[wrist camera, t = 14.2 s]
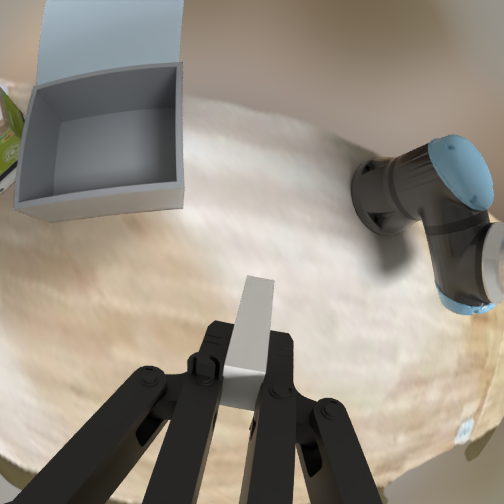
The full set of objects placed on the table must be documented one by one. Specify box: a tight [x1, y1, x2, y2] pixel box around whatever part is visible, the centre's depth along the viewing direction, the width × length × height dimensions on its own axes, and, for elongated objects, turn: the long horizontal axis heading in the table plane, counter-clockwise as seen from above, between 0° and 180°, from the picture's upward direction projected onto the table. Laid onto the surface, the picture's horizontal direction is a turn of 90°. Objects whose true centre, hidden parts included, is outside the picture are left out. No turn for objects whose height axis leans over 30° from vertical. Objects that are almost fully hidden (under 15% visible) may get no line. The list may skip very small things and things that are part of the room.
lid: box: [37, 0, 184, 85], centre depth 23 cm, size 21×18×1 cm
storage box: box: [13, 62, 184, 223], centre depth 33 cm, size 22×18×12 cm
